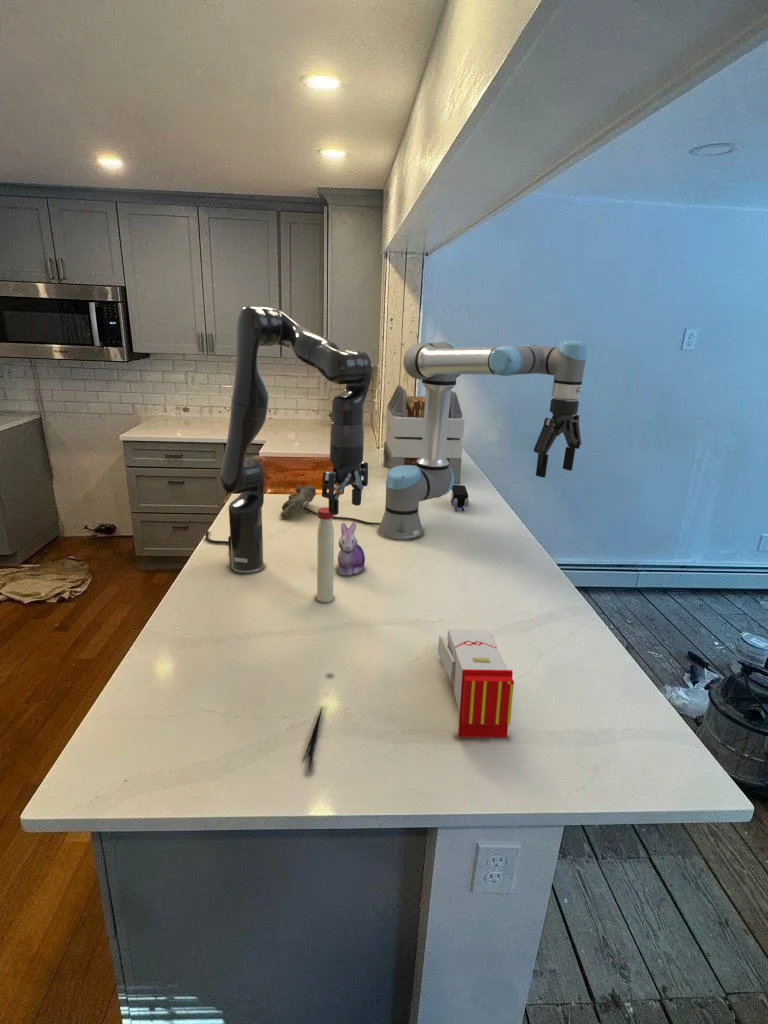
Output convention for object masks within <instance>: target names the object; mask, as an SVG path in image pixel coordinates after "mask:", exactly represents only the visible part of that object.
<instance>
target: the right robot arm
mask: <svg viewBox="0 0 768 1024" xmlns="http://www.w3.org/2000/svg"><path fill="white" fill-rule="evenodd" d="M587 354H588V344H587V343H586V342H585V341H579V340H560V341H559V343H558V346H554V347H553V346H545V345H538V344H525V345H522V346H521V345H502V346H476V347H475V346H474V347H459V346H458V345H457V344H455V343H452V342H445V341H444V342H442V341H441V342H440V341H439V342H438V341H437V342H417V343H415V344H412V345H411V346H410V347H408V348H407V350H406V351H405V353H404V356H403V360H402V361H403V368H404V370H405V372H406V373H407V375H408V376H410V377H411V378H413V379H416V380H421V385H423V387H424V388H425V394H424V395H425V396H424V397H425V408H424V422H423V436H422V451H421V457H420V458H418V459H417V461H416V466H413V465H401V466H396V467H394V468H392V469H390V468H389V470H388V472H387V474H386V479H385V504H384V505H385V507H384V508H385V509H384V513H383V515H382V519H381V522H370V521H365V520H362V519H358V518H354V517H346V516H336V515H334V517H333V518H332V519H335V520H336V519H337V520H347V521H353V522H358V523H362V524H366V525H371V526H379V527H378V533H379V534H380V535H381V536H382V537H385V538H387V539H389V540H395V541H410V540H415V539H418V538H420V537H421V536H422V535H423V525H422V524H421V518H420V515H419V507H420V506H419V505H420V502H423V501H427V500H431V499H437V498H440V497H443V496H446V495H448V493H450V492H451V491H452V487H453V485H455V483H454V473H452V469H451V467H450V466H449V462H448V461H447V459H446V458H445V454H446V443H447V431H448V419H449V407H450V396H451V391H452V389H453V388H455V387H456V386H457V378H458V377H460V376H461V375H483V376H484V375H489V376H490V375H494V376H500V377H501V376H503V377H510V376H516V375H535V374H538V375H550V376H553V383H552V389H551V395H550V396H551V397H552V398H551V400H550V404H549V412H550V413H552V417H551V418H550V417H545V418H544V421H543V426H542V428H541V431H540V433H539V436H538V437H537V440H536V443H535V445H534V447H533V452H534V453H535V454H537V461H536V470H535V476H536V477H539V478H543V479H545V478H546V476H547V468H548V463H549V461H548V460H549V454H548V452H549V450H550V449H551V448H552V445H553V444H554V443H555V440H556V439H557V437H558V436H560V435H561V434H563V437H564V439H565V441H566V444H567V446H566V447H565V451H564V456H563V463H562V469H563V470H566V471H570V472H571V471H573V466H574V461H575V460H574V459H575V454H576V449H577V450H579V449H580V447H581V444H582V438H581V430H580V415H579V414H578V412H579V405H580V401H579V399H580V397H581V393H582V384H583V377H584V372H585V366H586V361H587ZM307 509H308V510H309V512H308V513H311V514H313V515H317V516H318V511H314V510H311V509H310V508H307ZM303 510H305V511H307V510H306V509H305V508H304V509H303Z"/></svg>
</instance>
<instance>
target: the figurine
mask: <svg viewBox="0 0 768 1024" xmlns="http://www.w3.org/2000/svg"><path fill="white" fill-rule="evenodd" d="M356 528H357V521H353V522H352V523H351V524H350V525H349V527H348V526H347V524H346V523H345V522H344V521H343V522H341V524H340V531H341V532H340V533H341V534H340V537H339V539H338V546H339V549H340V550H339V551H338V553H337V562H338V565H337V570H338V574H339V575H342V576H352V575H357V574H359V573H361V572H362V571H364V568H365V563H366V557H365V556H366V555H365V551H364V550H363V547H362V546H361V545H360V544H359V543H358V540H357V538H356V534H355V532H356Z"/></svg>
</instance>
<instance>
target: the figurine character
mask: <svg viewBox="0 0 768 1024" xmlns="http://www.w3.org/2000/svg"><path fill="white" fill-rule="evenodd" d="M449 502H450V504H451V506H452V507H453V508H454V511H456V512H457V511H458V509H461V511H462V512H464V511H465V508H469V505H470V500H469V492H468V490H467V488H466V485H464V484H463V485H461V484H453V487H452V489H451V494H450V501H449Z"/></svg>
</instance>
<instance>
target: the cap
mask: <svg viewBox="0 0 768 1024" xmlns="http://www.w3.org/2000/svg"><path fill="white" fill-rule="evenodd" d="M317 513H318V515H317V518H318V519H319V520H320V519H324V520H328V519H331V520H332V519H334V518H333V517H334V516H335V515H333V514H330V513H329V506H328V507H325V506H324V507H319V508H318V509H317Z"/></svg>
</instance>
